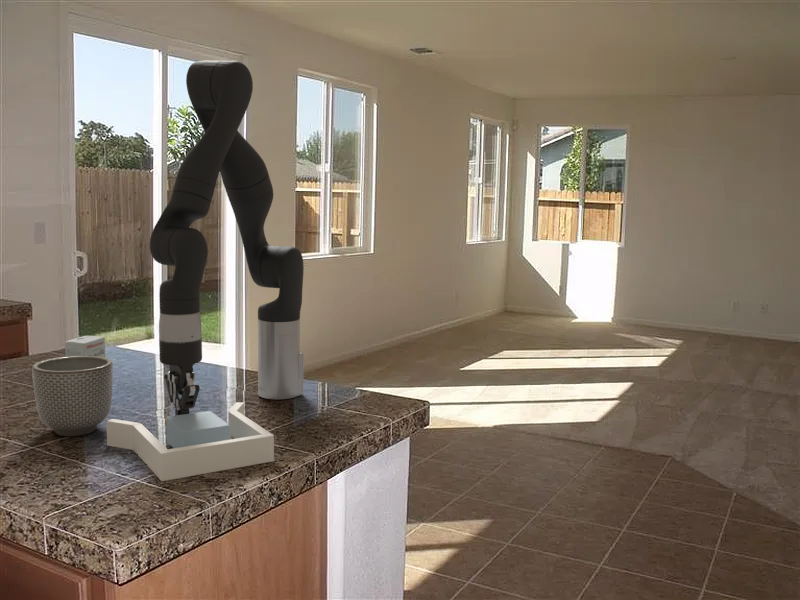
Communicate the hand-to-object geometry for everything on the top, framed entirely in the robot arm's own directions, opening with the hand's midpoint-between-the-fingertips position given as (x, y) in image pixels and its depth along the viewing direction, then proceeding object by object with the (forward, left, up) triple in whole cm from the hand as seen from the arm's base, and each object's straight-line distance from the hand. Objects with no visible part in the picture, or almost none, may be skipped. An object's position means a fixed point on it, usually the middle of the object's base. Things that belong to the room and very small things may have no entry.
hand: (182, 428), depth 147 cm
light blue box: (+1, +10, -1) cm, 10 cm away
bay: (+1, +10, -1) cm, 10 cm away
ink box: (+9, -42, -2) cm, 43 cm away
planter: (+17, -12, -2) cm, 21 cm away
